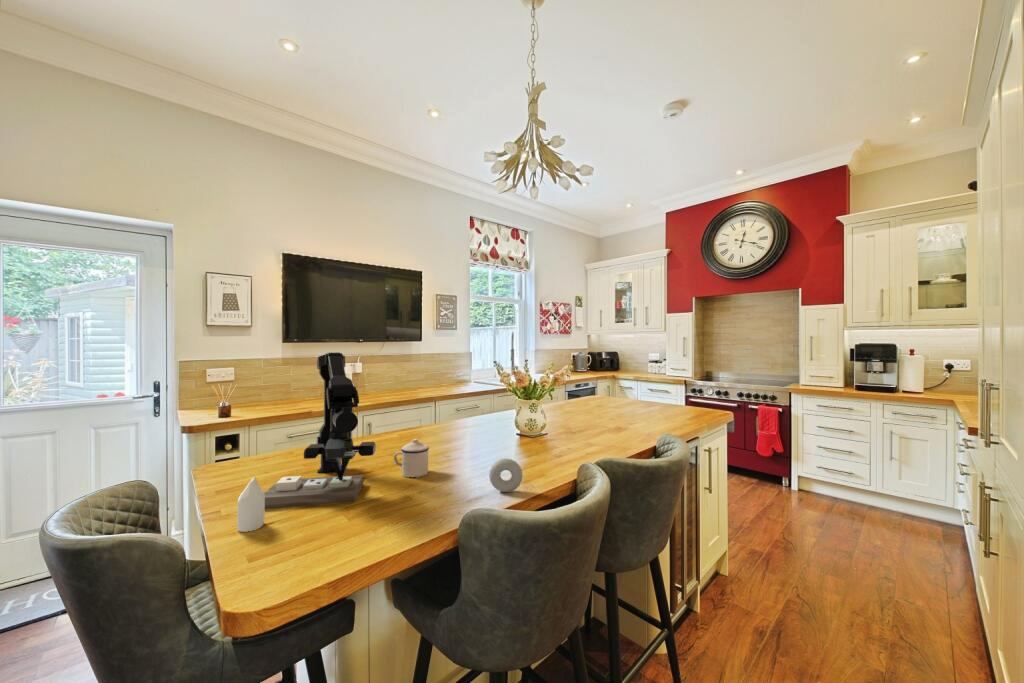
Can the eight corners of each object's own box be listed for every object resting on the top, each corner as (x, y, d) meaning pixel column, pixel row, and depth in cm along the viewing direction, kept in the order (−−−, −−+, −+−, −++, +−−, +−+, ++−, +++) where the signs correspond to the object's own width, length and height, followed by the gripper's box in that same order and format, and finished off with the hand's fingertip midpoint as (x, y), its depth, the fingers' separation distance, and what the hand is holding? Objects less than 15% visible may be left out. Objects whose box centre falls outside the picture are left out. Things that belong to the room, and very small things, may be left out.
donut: (488, 494, 116) (488, 460, 116) (489, 489, 120) (489, 456, 120) (522, 494, 116) (522, 460, 116) (522, 490, 120) (522, 457, 120)
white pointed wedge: (234, 476, 96) (261, 471, 100) (234, 526, 96) (261, 519, 100) (239, 483, 91) (267, 477, 95) (239, 534, 91) (267, 527, 95)
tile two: (308, 489, 116) (308, 479, 116) (326, 488, 117) (326, 478, 117) (303, 496, 111) (303, 485, 111) (322, 495, 112) (322, 484, 112)
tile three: (334, 487, 118) (334, 476, 118) (351, 486, 119) (351, 475, 119) (329, 493, 113) (329, 482, 113) (348, 492, 114) (348, 481, 114)
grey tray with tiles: (279, 489, 119) (279, 479, 119) (363, 484, 123) (363, 474, 123) (258, 509, 105) (258, 497, 105) (354, 502, 110) (354, 491, 110)
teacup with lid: (432, 469, 138) (432, 436, 138) (423, 479, 129) (423, 443, 129) (399, 468, 139) (399, 435, 139) (388, 477, 130) (388, 442, 130)
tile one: (282, 487, 115) (282, 476, 115) (301, 486, 116) (301, 475, 116) (275, 493, 110) (275, 482, 110) (295, 492, 111) (295, 481, 111)
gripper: (297, 433, 106) (296, 491, 106) (370, 430, 110) (369, 487, 110) (310, 424, 117) (309, 477, 117) (376, 422, 120) (375, 473, 121)
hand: (340, 479), depth 116 cm, fingers closed, pressing on tile three
